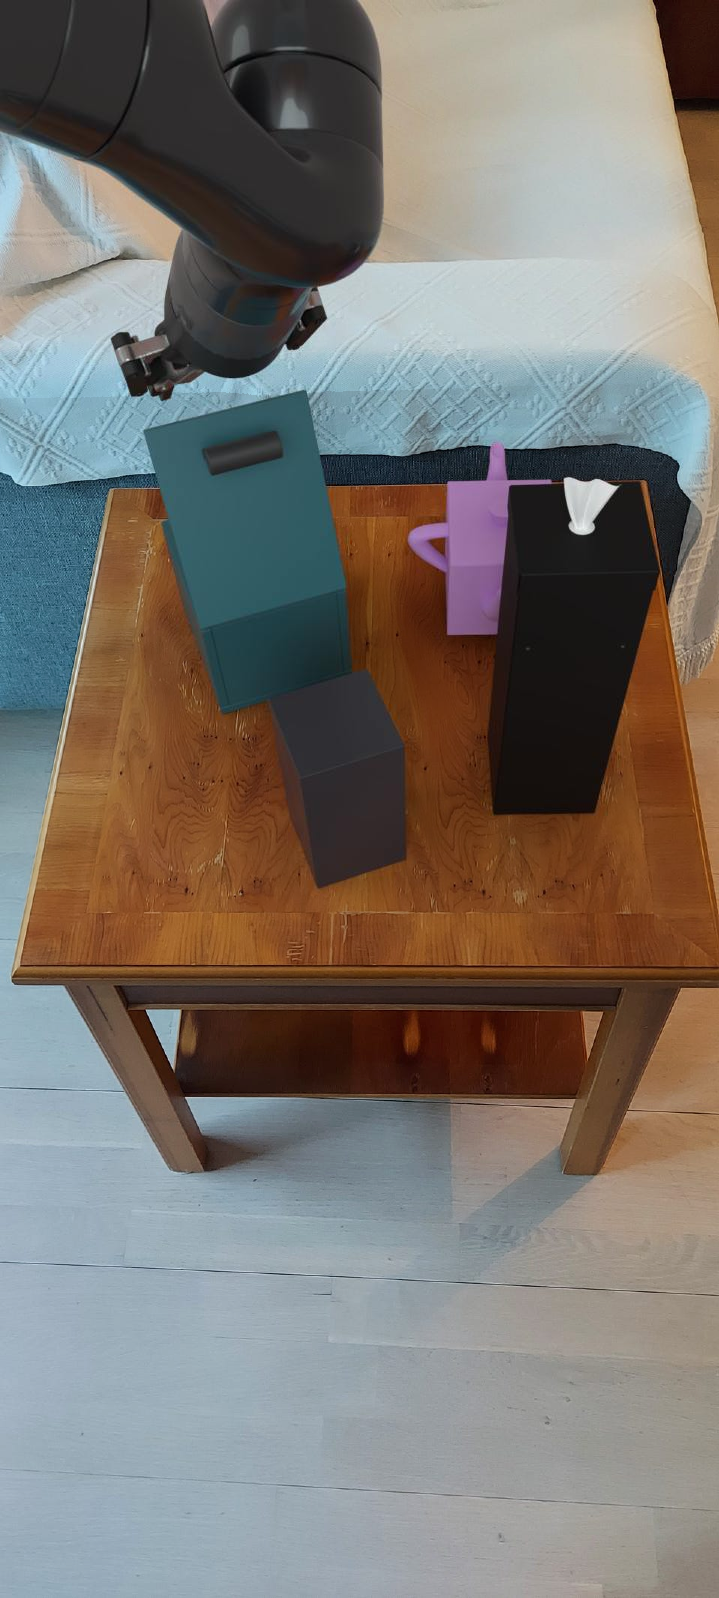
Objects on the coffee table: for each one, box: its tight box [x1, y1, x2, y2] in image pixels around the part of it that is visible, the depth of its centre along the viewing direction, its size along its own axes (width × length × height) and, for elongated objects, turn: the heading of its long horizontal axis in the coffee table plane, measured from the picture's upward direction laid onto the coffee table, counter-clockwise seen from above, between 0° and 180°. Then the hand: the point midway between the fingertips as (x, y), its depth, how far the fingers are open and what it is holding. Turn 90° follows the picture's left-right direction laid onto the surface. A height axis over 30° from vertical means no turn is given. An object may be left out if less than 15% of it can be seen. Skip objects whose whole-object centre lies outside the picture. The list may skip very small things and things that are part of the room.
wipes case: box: [160, 519, 353, 715], centre depth 84 cm, size 14×12×10 cm
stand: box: [267, 668, 407, 890], centre depth 70 cm, size 7×7×14 cm
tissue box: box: [486, 476, 661, 816], centre depth 67 cm, size 8×8×28 cm
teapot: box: [407, 441, 553, 636], centre depth 85 cm, size 15×13×11 cm
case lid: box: [142, 389, 348, 629], centre depth 71 cm, size 14×12×5 cm
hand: (204, 372), depth 72 cm, fingers open, 6 cm apart
